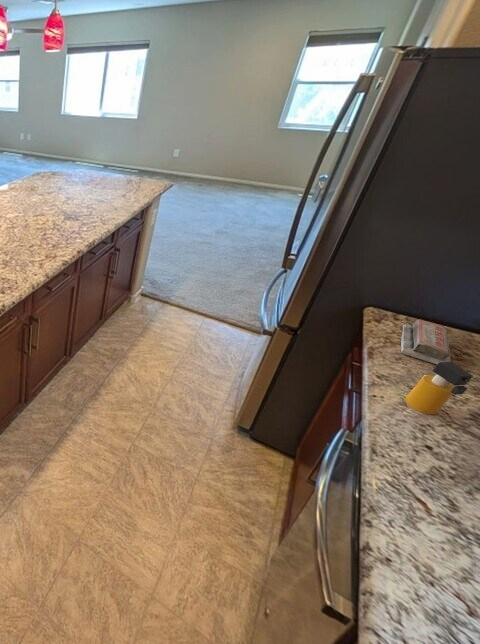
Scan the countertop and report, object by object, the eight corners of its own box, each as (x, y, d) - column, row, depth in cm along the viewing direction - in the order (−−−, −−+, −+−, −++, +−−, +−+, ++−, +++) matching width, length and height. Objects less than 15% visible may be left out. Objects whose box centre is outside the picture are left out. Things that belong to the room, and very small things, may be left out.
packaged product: (409, 314, 123) (455, 327, 117) (401, 326, 125) (446, 340, 119) (408, 341, 112) (459, 357, 106) (399, 353, 114) (448, 370, 108)
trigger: (450, 391, 91) (455, 385, 90) (458, 391, 91) (463, 385, 90) (454, 394, 91) (459, 388, 90) (462, 394, 91) (467, 388, 90)
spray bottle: (398, 397, 101) (429, 359, 94) (419, 396, 101) (451, 358, 94) (424, 417, 95) (459, 378, 88) (446, 416, 95) (482, 377, 88)
